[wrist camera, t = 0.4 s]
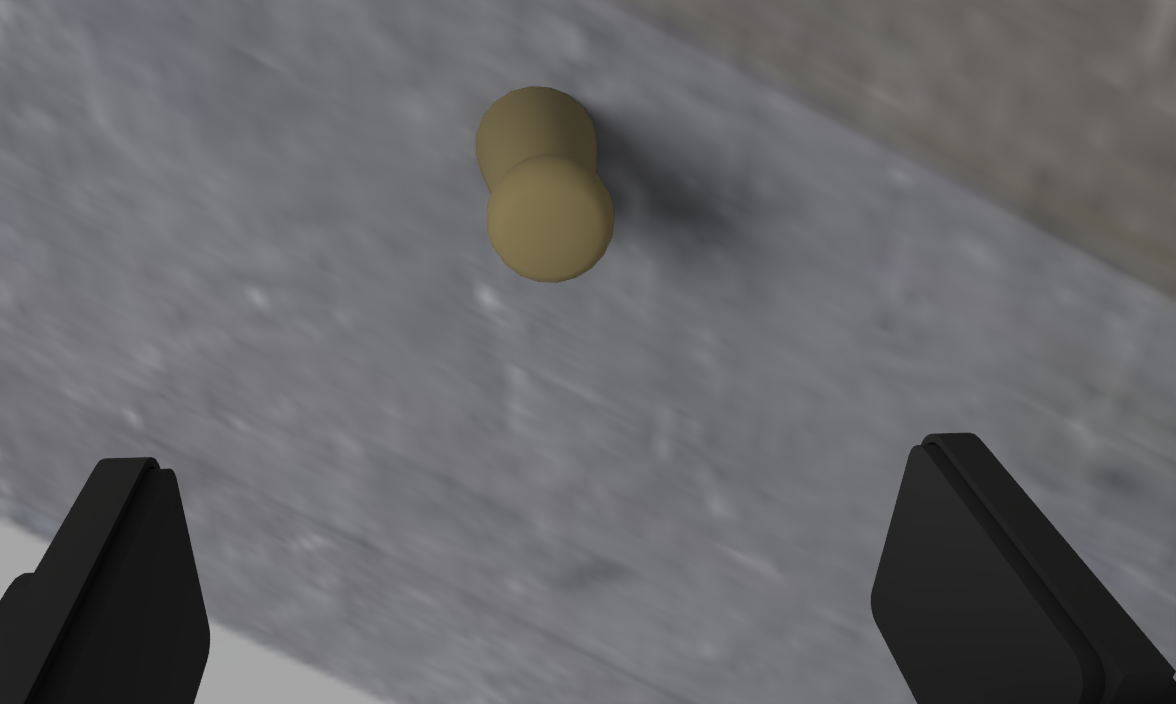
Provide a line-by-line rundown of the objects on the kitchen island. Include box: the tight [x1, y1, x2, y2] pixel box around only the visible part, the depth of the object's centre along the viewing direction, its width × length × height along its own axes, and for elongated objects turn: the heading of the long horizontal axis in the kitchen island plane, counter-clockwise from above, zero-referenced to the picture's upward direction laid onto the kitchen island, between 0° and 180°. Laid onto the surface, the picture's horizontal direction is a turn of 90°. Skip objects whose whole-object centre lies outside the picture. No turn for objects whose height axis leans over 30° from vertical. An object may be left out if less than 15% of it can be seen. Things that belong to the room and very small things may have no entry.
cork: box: [476, 87, 615, 282], centre depth 40 cm, size 6×6×11 cm
